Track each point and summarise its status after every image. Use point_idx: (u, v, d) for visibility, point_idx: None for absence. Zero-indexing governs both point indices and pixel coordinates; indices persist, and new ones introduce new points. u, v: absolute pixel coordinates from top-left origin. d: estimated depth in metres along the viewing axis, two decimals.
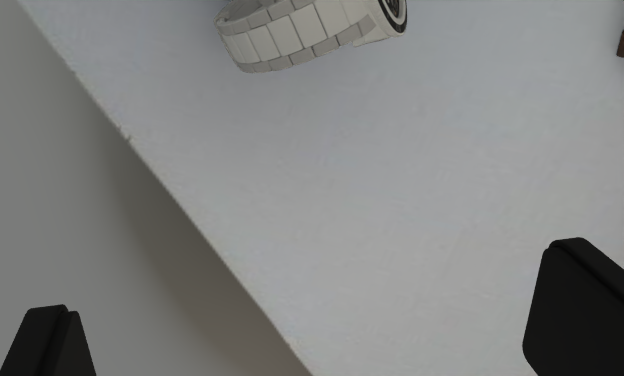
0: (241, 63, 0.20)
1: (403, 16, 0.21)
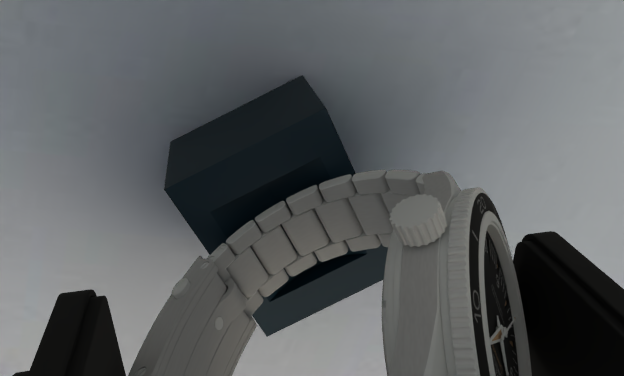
0: None
1: None
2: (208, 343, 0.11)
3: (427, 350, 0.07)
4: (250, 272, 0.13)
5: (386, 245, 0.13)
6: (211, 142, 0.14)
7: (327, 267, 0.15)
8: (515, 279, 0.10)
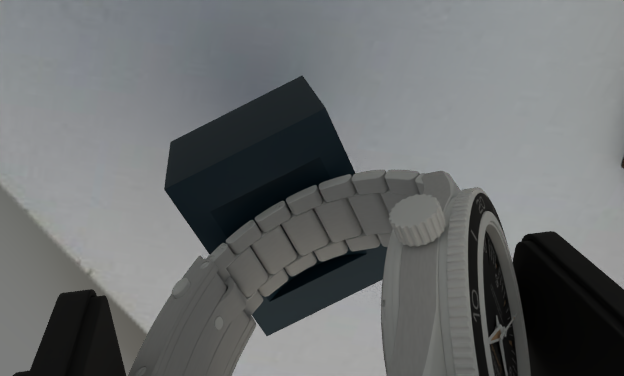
0: None
1: None
2: (208, 343, 0.11)
3: (426, 349, 0.07)
4: (250, 272, 0.13)
5: (386, 245, 0.13)
6: (211, 142, 0.14)
7: (327, 267, 0.15)
8: (514, 279, 0.10)
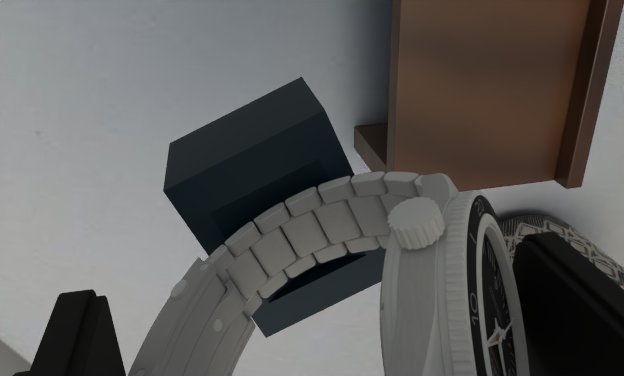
0: None
1: None
2: (207, 345, 0.11)
3: (425, 353, 0.07)
4: (250, 274, 0.13)
5: (385, 246, 0.13)
6: (210, 144, 0.14)
7: (326, 268, 0.15)
8: (513, 281, 0.10)
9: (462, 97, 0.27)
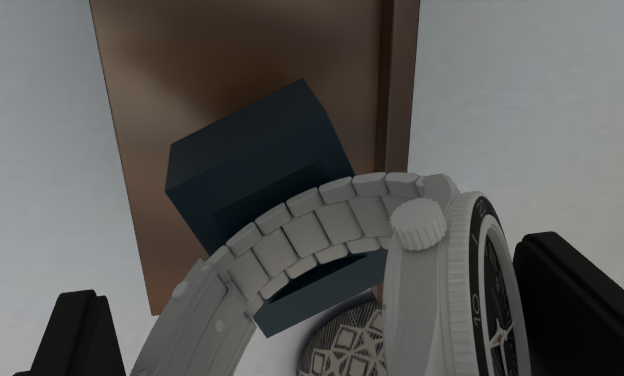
0: None
1: None
2: (209, 346, 0.11)
3: (427, 354, 0.07)
4: (250, 275, 0.13)
5: (386, 247, 0.13)
6: (211, 144, 0.14)
7: (327, 269, 0.15)
8: (515, 282, 0.10)
9: None
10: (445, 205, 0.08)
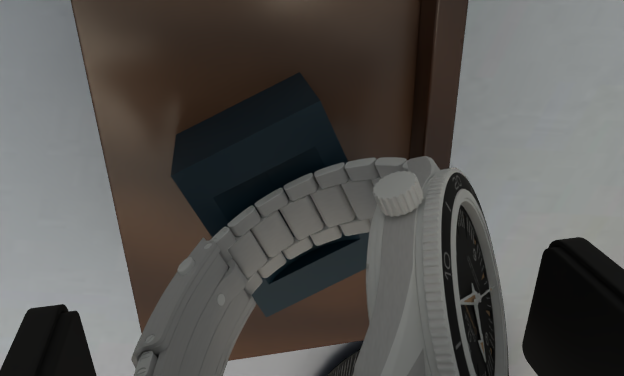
0: None
1: (506, 357, 0.10)
2: (211, 317, 0.12)
3: (403, 303, 0.08)
4: (250, 255, 0.14)
5: None
6: (214, 133, 0.14)
7: (323, 252, 0.15)
8: (492, 255, 0.11)
9: None
10: (424, 179, 0.09)
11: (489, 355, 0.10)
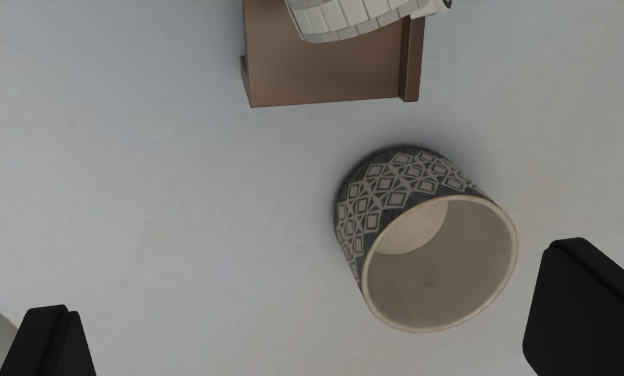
0: (309, 34, 0.23)
1: None
2: None
3: None
4: None
5: None
6: None
7: None
8: None
9: None
10: None
11: None
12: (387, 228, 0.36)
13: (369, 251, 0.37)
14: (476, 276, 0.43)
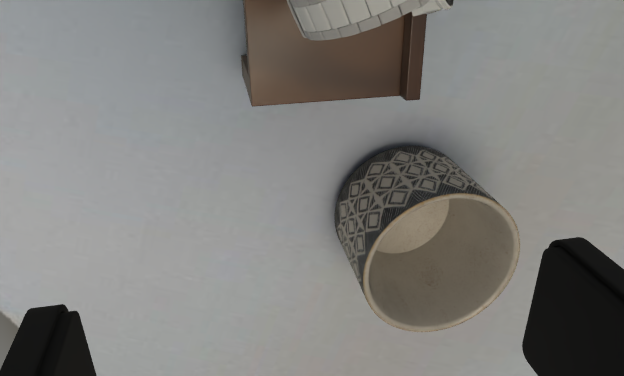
0: (311, 32, 0.23)
1: None
2: None
3: None
4: None
5: None
6: None
7: None
8: None
9: None
10: None
11: None
12: (389, 227, 0.36)
13: (371, 250, 0.37)
14: (478, 275, 0.43)
